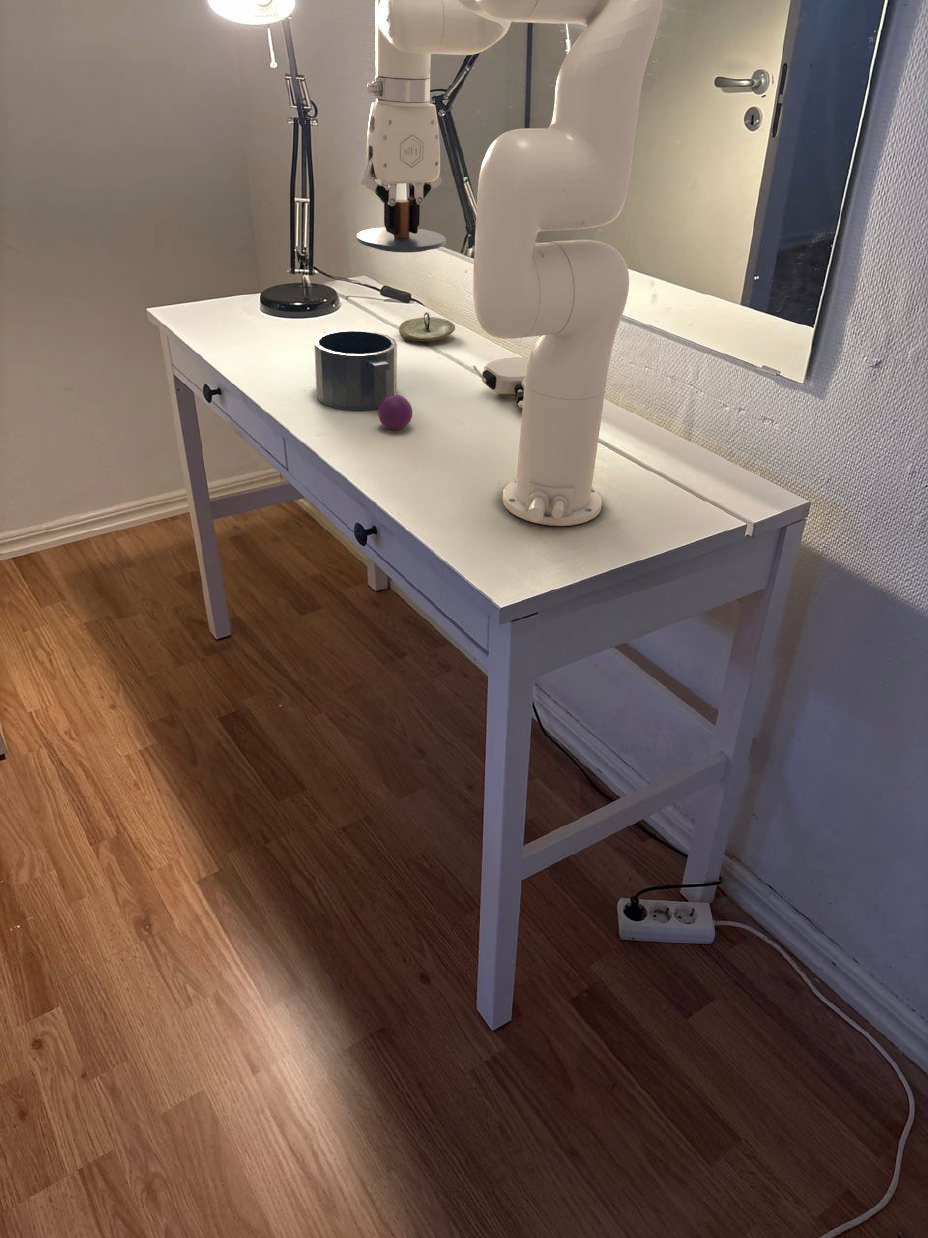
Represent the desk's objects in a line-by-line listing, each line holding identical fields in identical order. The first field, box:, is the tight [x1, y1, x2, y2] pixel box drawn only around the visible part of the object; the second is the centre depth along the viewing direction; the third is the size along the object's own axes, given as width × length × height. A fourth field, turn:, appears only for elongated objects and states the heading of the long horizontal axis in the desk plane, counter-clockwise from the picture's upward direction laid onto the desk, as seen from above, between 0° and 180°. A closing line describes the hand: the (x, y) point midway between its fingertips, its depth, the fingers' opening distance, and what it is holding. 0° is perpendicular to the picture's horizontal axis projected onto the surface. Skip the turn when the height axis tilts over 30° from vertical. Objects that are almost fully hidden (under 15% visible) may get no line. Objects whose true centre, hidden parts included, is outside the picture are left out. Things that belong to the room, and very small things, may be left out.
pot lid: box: [356, 199, 447, 254], centre depth 138 cm, size 13×13×6 cm
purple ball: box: [377, 394, 413, 431], centre depth 134 cm, size 5×5×5 cm
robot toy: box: [472, 356, 529, 409], centre depth 147 cm, size 12×4×15 cm
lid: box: [398, 311, 456, 342], centre depth 171 cm, size 11×10×5 cm
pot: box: [313, 329, 398, 411], centre depth 143 cm, size 12×18×8 cm
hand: (401, 231), depth 139 cm, fingers closed on pot lid, 2 cm apart
